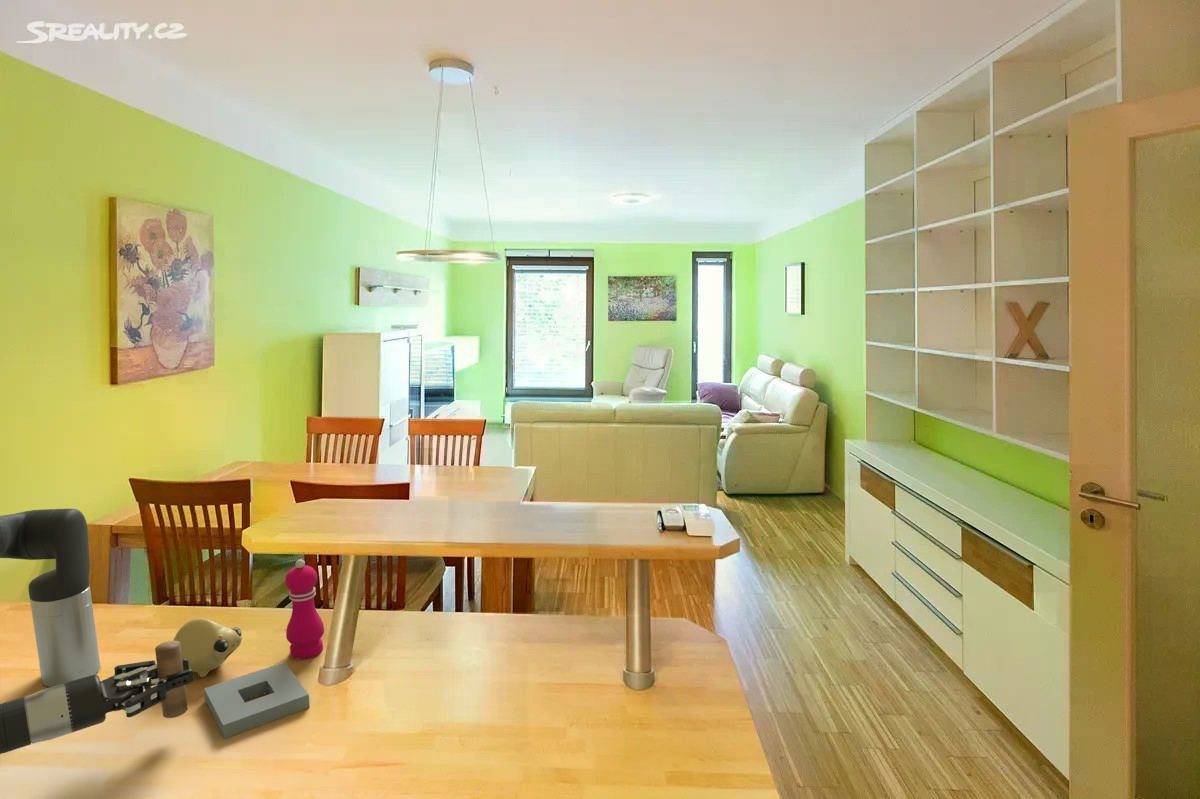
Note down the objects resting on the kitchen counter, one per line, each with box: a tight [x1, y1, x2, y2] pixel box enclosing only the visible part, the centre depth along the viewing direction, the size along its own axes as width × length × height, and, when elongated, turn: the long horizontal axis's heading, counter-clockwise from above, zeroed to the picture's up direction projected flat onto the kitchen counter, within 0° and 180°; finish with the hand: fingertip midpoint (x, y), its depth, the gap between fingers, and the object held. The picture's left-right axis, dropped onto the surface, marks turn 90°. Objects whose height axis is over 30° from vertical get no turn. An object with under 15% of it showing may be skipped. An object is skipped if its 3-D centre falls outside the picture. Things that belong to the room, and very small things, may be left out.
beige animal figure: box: [172, 617, 243, 678], centre depth 142 cm, size 10×12×11 cm
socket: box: [203, 661, 310, 739], centre depth 131 cm, size 14×14×2 cm
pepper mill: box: [284, 559, 325, 660], centre depth 148 cm, size 7×7×20 cm
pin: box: [154, 640, 189, 719], centre depth 121 cm, size 4×4×12 cm
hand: (190, 669), depth 123 cm, fingers closed on pin, 3 cm apart
